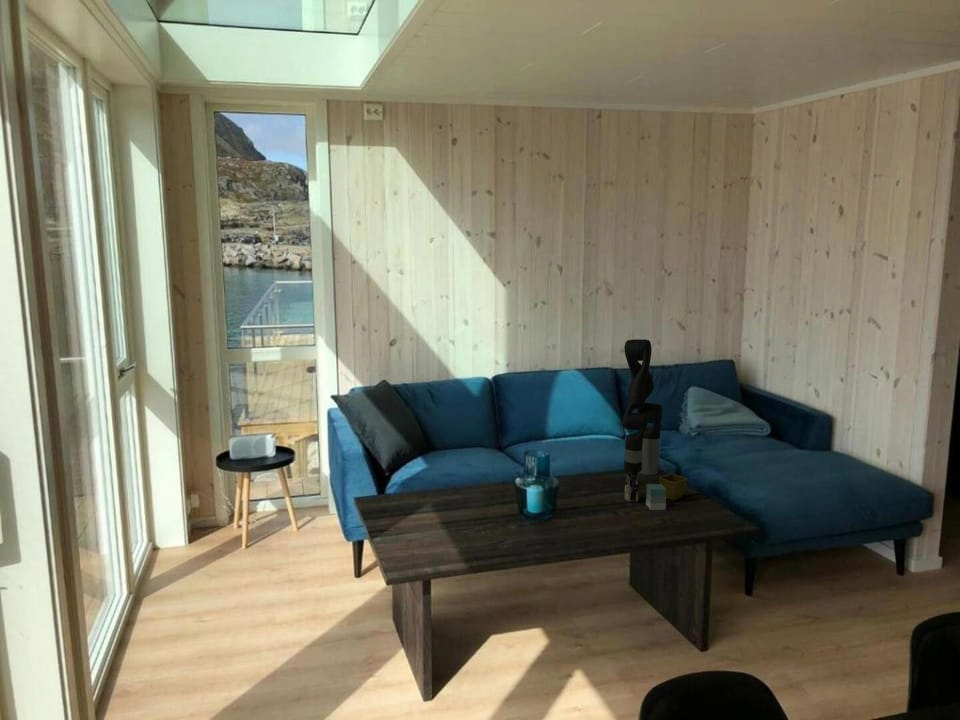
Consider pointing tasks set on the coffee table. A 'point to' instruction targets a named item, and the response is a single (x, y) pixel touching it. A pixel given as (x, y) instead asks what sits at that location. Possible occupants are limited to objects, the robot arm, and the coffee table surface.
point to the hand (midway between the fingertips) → (631, 498)
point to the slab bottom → (656, 505)
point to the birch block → (627, 493)
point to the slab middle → (656, 499)
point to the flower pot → (673, 486)
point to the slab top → (656, 490)
